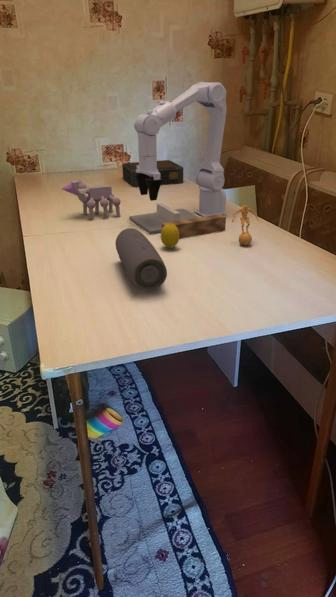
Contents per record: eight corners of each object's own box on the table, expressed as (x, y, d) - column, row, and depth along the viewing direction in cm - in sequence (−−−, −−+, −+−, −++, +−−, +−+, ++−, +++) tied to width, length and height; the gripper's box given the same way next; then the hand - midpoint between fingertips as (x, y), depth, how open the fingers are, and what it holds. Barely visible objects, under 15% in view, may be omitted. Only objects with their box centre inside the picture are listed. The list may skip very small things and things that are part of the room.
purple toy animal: (67, 224, 152) (62, 184, 146) (62, 217, 161) (57, 179, 155) (122, 217, 159) (120, 179, 153) (114, 211, 168) (111, 174, 162)
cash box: (169, 175, 223) (169, 159, 219) (184, 183, 206) (184, 167, 202) (121, 178, 215) (121, 162, 211) (133, 188, 198) (132, 171, 194)
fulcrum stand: (183, 211, 166) (183, 198, 164) (207, 224, 152) (208, 210, 149) (129, 219, 157) (128, 205, 155) (150, 234, 143) (150, 219, 141)
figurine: (234, 248, 132) (237, 209, 126) (227, 241, 137) (230, 203, 132) (260, 246, 133) (264, 207, 128) (252, 239, 139) (256, 202, 133)
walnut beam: (219, 228, 149) (220, 213, 147) (225, 231, 147) (226, 216, 144) (161, 238, 141) (161, 223, 138) (166, 241, 138) (166, 226, 135)
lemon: (181, 246, 133) (181, 220, 130) (175, 252, 129) (176, 226, 125) (164, 244, 135) (164, 219, 131) (158, 250, 130) (157, 224, 127)
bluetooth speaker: (169, 292, 106) (169, 254, 101) (132, 298, 104) (130, 259, 99) (146, 258, 125) (146, 224, 121) (114, 261, 123) (112, 227, 118)
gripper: (127, 152, 144) (129, 193, 150) (145, 160, 132) (146, 204, 139) (147, 150, 146) (148, 191, 153) (166, 158, 135) (166, 201, 141)
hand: (148, 197), depth 146 cm, fingers open, 7 cm apart
